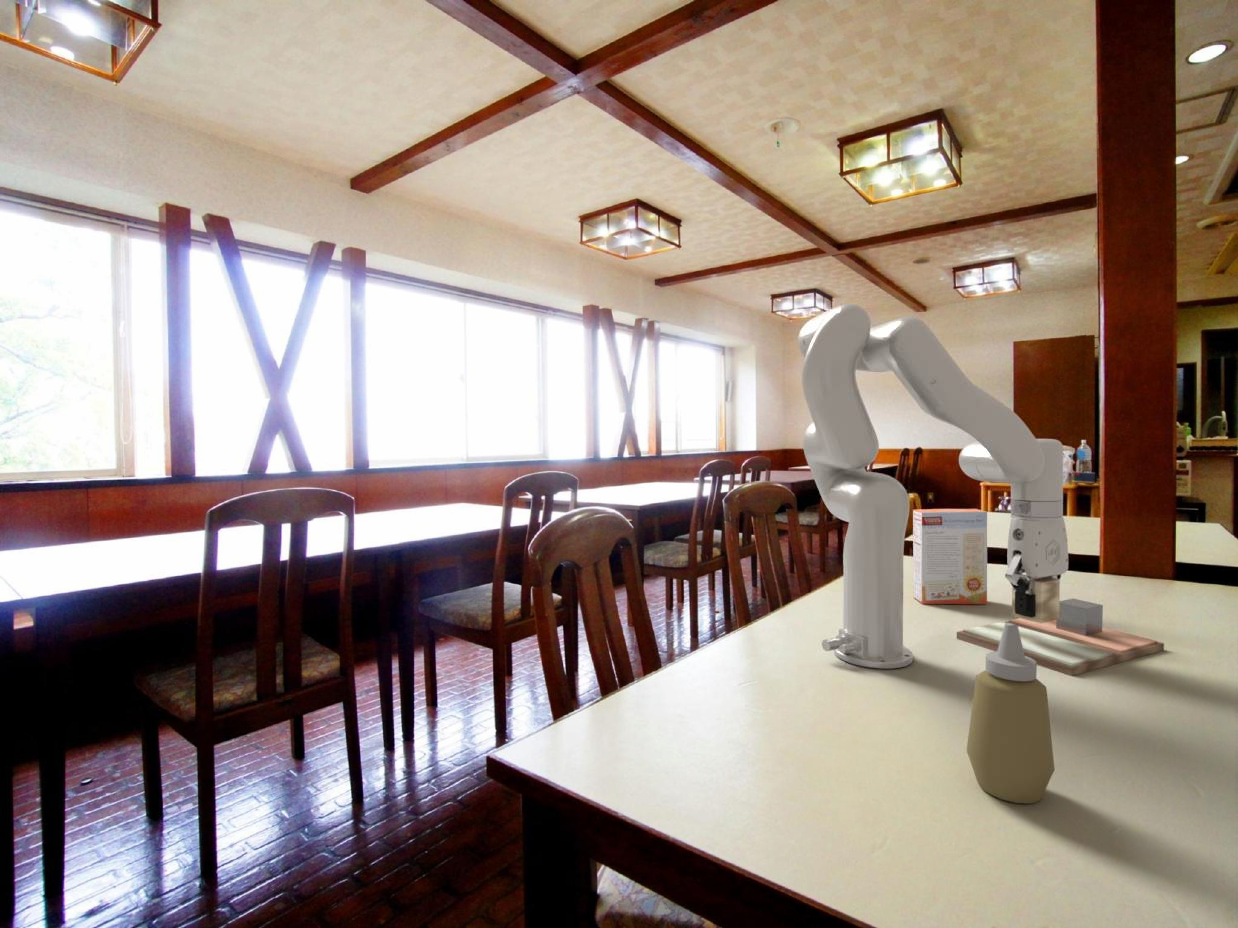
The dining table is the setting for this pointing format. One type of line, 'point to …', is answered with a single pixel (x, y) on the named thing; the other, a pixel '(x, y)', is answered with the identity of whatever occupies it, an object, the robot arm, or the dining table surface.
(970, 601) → the cracker box
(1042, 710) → the squeeze bottle
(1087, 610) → the metal block
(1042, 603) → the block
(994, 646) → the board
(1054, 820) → the dining table surface
